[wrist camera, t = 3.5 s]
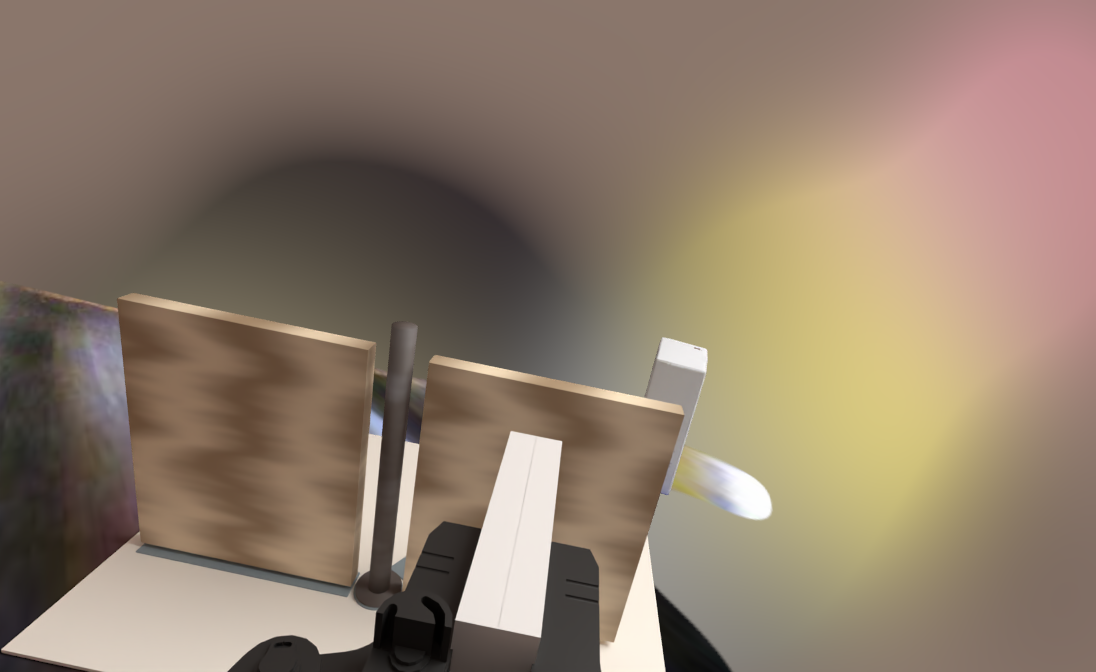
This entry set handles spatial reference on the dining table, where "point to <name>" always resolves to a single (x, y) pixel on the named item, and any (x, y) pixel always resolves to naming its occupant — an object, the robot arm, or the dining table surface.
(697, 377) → the skincare box
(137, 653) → the card
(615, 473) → the fence gate
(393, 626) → the robot arm
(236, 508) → the panel
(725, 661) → the dining table surface
